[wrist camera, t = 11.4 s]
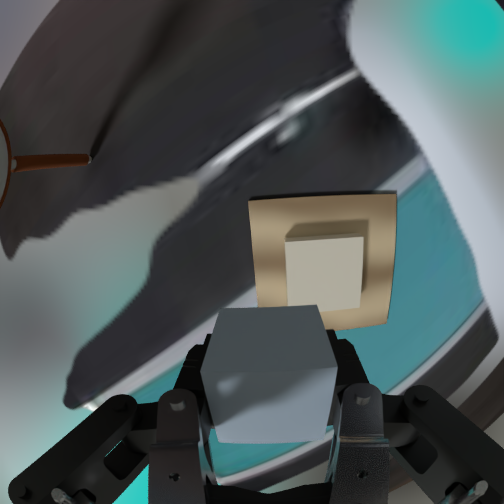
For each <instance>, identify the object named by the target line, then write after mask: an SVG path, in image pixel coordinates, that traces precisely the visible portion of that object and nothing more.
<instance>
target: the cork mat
mask: <svg viewBox="0 0 504 504" xmlns="http://www.w3.org/2000/svg"><path fill="white" fill-rule="evenodd" d="M248 204H249V215H250V225H251V236H252V247H253V258H254V269H255V279H256V290H257V301H258V307H281V306H287V287H286V267H285V248H284V238H291V237H306V236H321V235H336V234H352V233H359V234H360V235H362V236H363V237H364V239H363V268H362V284H361V298H360V308H352V309H343V310H334V311H324V312H320V315H321V318H322V321H323V324H324V327H325V329H334V331H337V330H345V329H353V328H360V327H367V326H374V325H381V324H386V323H387V317H388V310H389V303H390V296H391V287H392V278H393V268H394V255H395V239H396V194H358V195H329V196H309V197H292V198H276V199H263V200H251V201H248Z"/></svg>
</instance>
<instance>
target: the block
mask: <svg viewBox="0 0 504 504" xmlns="http://www.w3.org/2000/svg"><path fill="white" fill-rule="evenodd" d="M337 368H338V366H337V363H336V360H335V357H334V354H333V350H332V347H331V344H330V341H329V338H328V335H327V332H326V329H325V327H324V324H323V321H322V318H321V315H320V312H319V309H318V306H317V304H316V305H300V306H281V307H257V308H220V311H219V314H218V317H217V320H216V324H215V327H214V330H213V333H212V336H211V339H210V342H209V345H208V348H207V352H206V355H205V358H204V361H203V364H202V367H201V371H200V372H201V376H202V381H203V385H204V389H205V393H206V397H207V401H208V404H209V408H210V412H211V416H212V419H213V423H214V426H215V430H216V433H217V437H218V440H219V442H223V443H289V442H303V441H314V440H323V439H324V435H325V431H326V427H327V422H328V417H329V413H330V408H331V403H332V398H333V392H334V387H335V381H336V375H337Z"/></svg>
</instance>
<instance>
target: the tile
mask: <svg viewBox="0 0 504 504" xmlns="http://www.w3.org/2000/svg"><path fill="white" fill-rule="evenodd" d="M363 239H364V237H363V236H362V235H360V234H359V233H352V234H336V235H321V236H306V237H291V238H284V248H285V267H286V287H287V306H300V305H316V304H317V306H318V309H319V312H324V311H334V310H343V309H352V308H360V298H361V284H362V268H363Z"/></svg>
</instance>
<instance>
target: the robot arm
mask: <svg viewBox="0 0 504 504" xmlns="http://www.w3.org/2000/svg"><path fill="white" fill-rule="evenodd" d="M326 332H327V335H328V338H329V341H330V344H331V347H332V350H333V354H334V357H335V360H336V363H337V366H338V368H337V375H336V381H335V387H334V392H333V398H332V403H331V408H330V413H329V417H328V422H327V426H329V425H333V427H334V435H333V440H332V446H331V452H330V458H329V463H328V469H327V474H326V478H325V481H324V483H318V484H310V485H302V486H299V487H295V488H292V489H288V490H284V491H280V492H276V493H271V494H266V493H261V492H256V491H251V490H247V489H243V488H239V487H235V486H223V485H218V484H217V481H216V476H215V471H214V465H213V459H212V453H211V446H210V440H209V434H210V430H211V428H212V429H215V426H214V423H213V419H212V416H211V412H210V408H209V404H208V401H207V397H206V393H205V389H204V385H203V381H202V376H201V372H200V371H201V367H202V364H203V361H204V358H205V355H206V352H207V348H208V345H209V342H210V339H211V336H212V334H207V336H206V338H205V341H204V344H203V345H198V344H196V345H195V346H194V347H193V348H191V349H190V350H189V351H188V354H187V356H186V359H185V361H184V364H183V367H182V368H181V371H180V373H179V376H178V378H177V381H176V383H175V386H174V388H173V390H169V391H167V392H165V393H164V394H163V395H162V396H161V397H160V399H159V401H158V402H153V403H144V404H137V402H136V400H135V399H134V398H133V397H132V396H129V395H125V394H120V395H115V396H113V397H111V398H109V399H108V400H107V401H105V402H104V403H103V404H102V405H101V406H100V407H99V408H97V409H96V410H95V411H94V412H93V413H92V414H91V415H89V416H88V417H87V418H86V419H85V420H83V421H82V422H81V423H80V424H79V425H78V426H77V427H75V428H74V429H73V430H72V431H71V432H69V433H68V434H67V435H66V436H65V437H64V438H62V439H61V440H60V441H59V442H58V443H56V444H55V445H54V446H53V447H52V448H50V449H49V450H48V451H47V452H46V453H45V454H43V455H42V456H41V457H40V458H38V459H37V460H36V461H35V462H34V463H32V464H31V465H30V466H29V467H28V468H26V469H25V470H24V471H23V472H22V473H20V474H19V475H18V476H17V477H15V478H14V479H13V480H12V481H11V482H10V484H9V487H8V494H9V498H10V500H11V501H12V503H13V504H112V503H113V502H114V501H115V500H116V499H117V498H118V497H119V496H120V495H121V494H122V493H123V492H124V491H125V490H126V488H127V487H128V486H129V485H130V484H131V483H132V482H133V481H134V480H135V478H136V477H137V476H138V475H139V474H140V473H141V472H142V471H143V469H144V468H145V467H146V466H147V465H148V464H149V473H148V476H149V477H148V504H388V490H389V452H390V454H391V455H392V456H393V457H394V458H395V459H396V461H397V462H398V463H399V464H400V465H401V466H402V468H403V469H404V470H405V471H406V472H407V473H408V474H409V476H410V477H411V478H412V479H413V480H414V481H415V482H416V484H417V485H418V486H419V487H420V488H421V489H422V490H423V491H424V493H425V494H426V495H427V496H428V497H429V498H430V499H431V500H432V501H433V502H434V504H504V449H503V448H502V447H501V446H500V445H498V444H497V443H496V442H495V441H494V440H493V439H491V438H490V437H489V436H488V435H487V434H486V433H484V432H483V431H482V430H481V429H480V428H479V427H477V426H476V425H475V424H474V423H473V422H471V421H470V420H469V419H468V418H467V417H466V416H464V415H463V414H462V413H461V412H460V411H458V410H457V409H456V408H455V407H454V406H452V405H451V404H450V403H449V402H448V401H447V400H445V399H444V398H443V397H442V396H441V395H439V394H438V393H437V392H436V391H435V390H433V389H432V388H430V387H428V386H424V385H417V386H413V387H411V388H409V389H408V390H407V391H406V392H405V394H404V396H400V395H385V394H382V393H381V391H380V390H379V389H378V388H377V387H376V386H374V385H372V384H370V383H369V381H368V379H367V376H366V374H365V371H364V369H363V367H362V364H361V362H360V361H359V357H358V355H357V354H356V351H355V348H354V346H353V345H352V344H351V343H350V342H349V341H348V340H346V339H337V336H336V334H335V331H334V329H326ZM120 441H121V442H120ZM119 442H120V443H119ZM118 443H119V444H118ZM117 444H118V445H117ZM116 445H117V446H116ZM115 446H116V447H115ZM114 447H115V448H114ZM113 448H114V449H113ZM112 449H113V450H112ZM111 450H112V451H111ZM110 451H111V452H110ZM109 452H110V453H109ZM108 453H109V454H108ZM107 454H108V455H107ZM106 455H107V456H106ZM105 456H106V457H105Z"/></svg>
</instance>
